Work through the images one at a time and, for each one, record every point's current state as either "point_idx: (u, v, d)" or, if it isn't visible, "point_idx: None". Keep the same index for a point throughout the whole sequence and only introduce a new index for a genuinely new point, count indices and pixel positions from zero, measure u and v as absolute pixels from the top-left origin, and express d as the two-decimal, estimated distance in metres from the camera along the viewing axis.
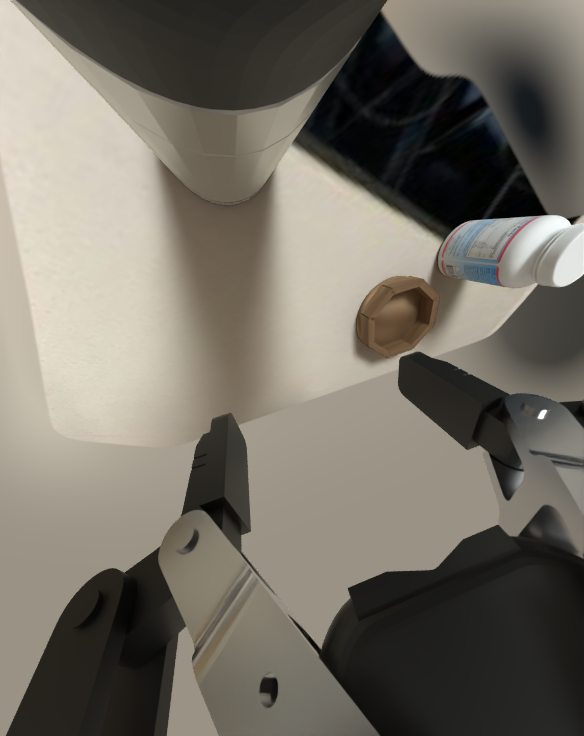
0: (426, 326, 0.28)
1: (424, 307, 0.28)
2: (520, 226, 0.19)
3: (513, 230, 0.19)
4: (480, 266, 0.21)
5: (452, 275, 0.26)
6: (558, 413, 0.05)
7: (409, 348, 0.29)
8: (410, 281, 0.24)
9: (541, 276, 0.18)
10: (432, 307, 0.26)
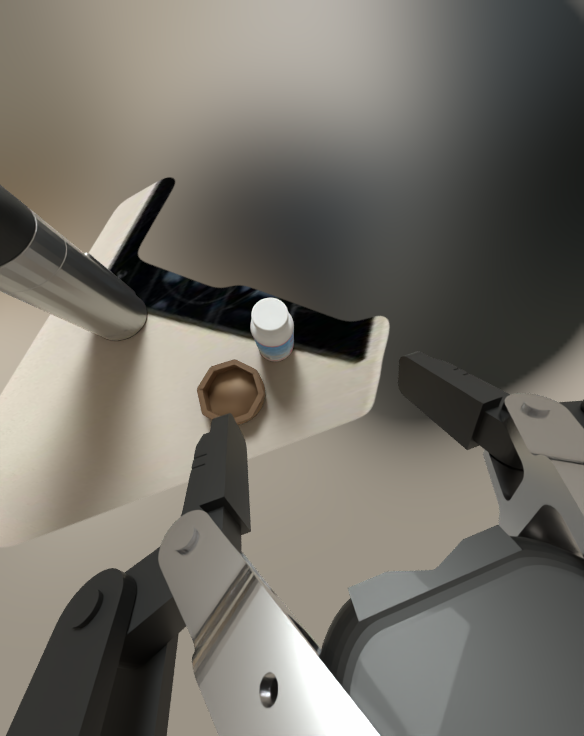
0: (257, 395, 0.32)
1: None
2: None
3: None
4: (255, 340, 0.31)
5: (267, 357, 0.34)
6: (558, 413, 0.05)
7: (247, 416, 0.31)
8: (227, 362, 0.33)
9: (257, 328, 0.26)
10: (254, 379, 0.32)
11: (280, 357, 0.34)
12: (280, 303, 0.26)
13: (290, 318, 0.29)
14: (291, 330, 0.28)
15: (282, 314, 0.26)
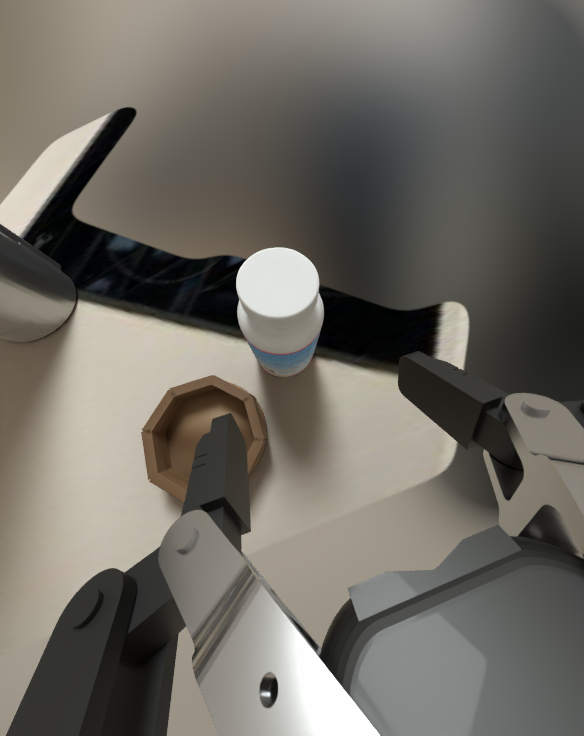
0: (253, 442, 0.17)
1: None
2: None
3: None
4: None
5: (270, 371, 0.20)
6: (558, 413, 0.05)
7: None
8: None
9: (249, 314, 0.12)
10: (247, 412, 0.18)
11: (293, 371, 0.19)
12: (301, 258, 0.12)
13: (318, 296, 0.14)
14: (320, 321, 0.14)
15: (306, 282, 0.11)
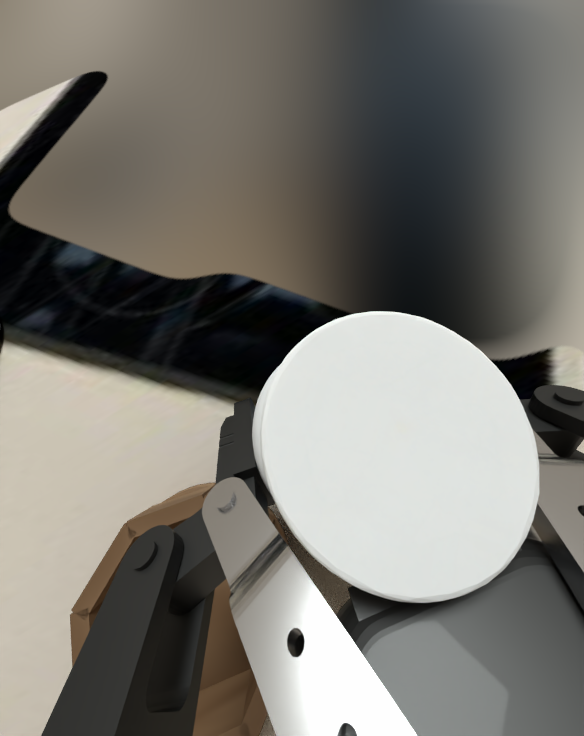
0: None
1: None
2: None
3: None
4: None
5: None
6: None
7: None
8: (180, 501, 0.11)
9: None
10: None
11: None
12: (461, 351, 0.04)
13: None
14: None
15: (497, 441, 0.03)
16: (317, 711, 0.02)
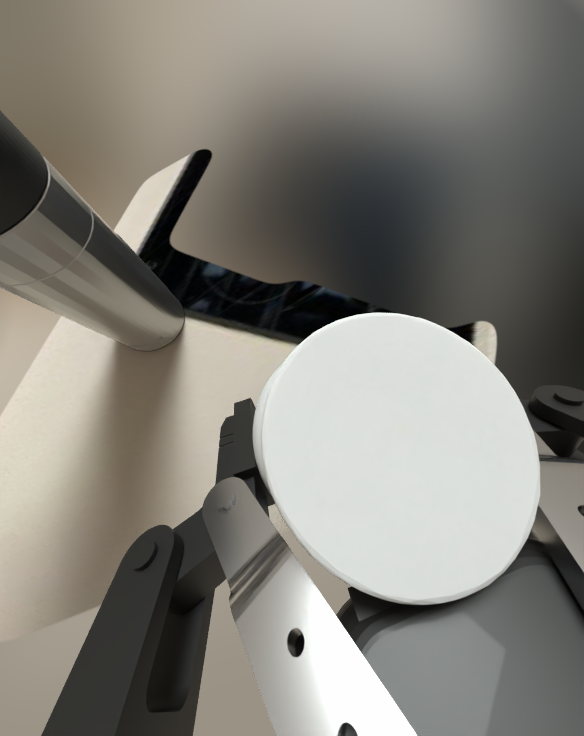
0: None
1: None
2: None
3: None
4: None
5: None
6: None
7: None
8: None
9: None
10: None
11: None
12: (462, 352, 0.04)
13: None
14: None
15: (498, 442, 0.03)
16: (317, 711, 0.02)
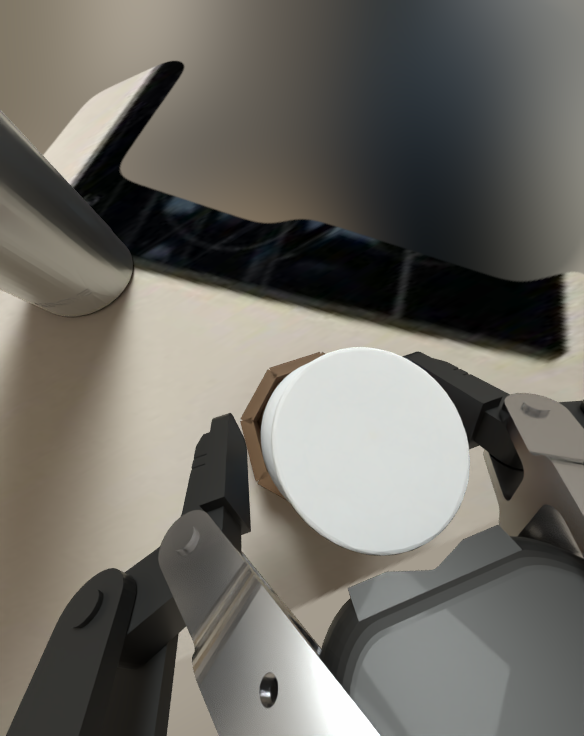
0: None
1: None
2: None
3: None
4: None
5: None
6: (558, 413, 0.05)
7: None
8: None
9: None
10: None
11: None
12: (418, 378, 0.05)
13: None
14: None
15: (441, 444, 0.05)
16: None
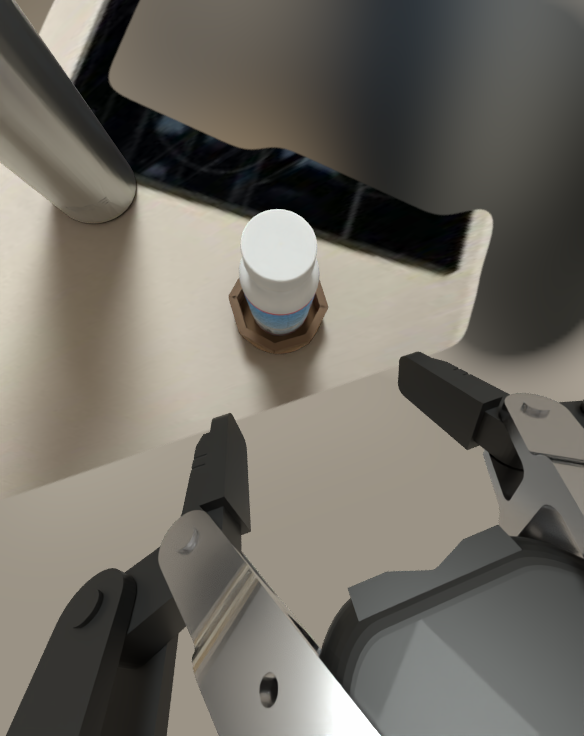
0: (318, 309, 0.22)
1: None
2: None
3: None
4: None
5: (267, 330, 0.21)
6: (558, 413, 0.05)
7: (305, 338, 0.21)
8: None
9: (252, 276, 0.13)
10: None
11: (288, 330, 0.21)
12: (301, 223, 0.12)
13: (315, 260, 0.15)
14: (316, 284, 0.15)
15: (306, 247, 0.12)
16: None
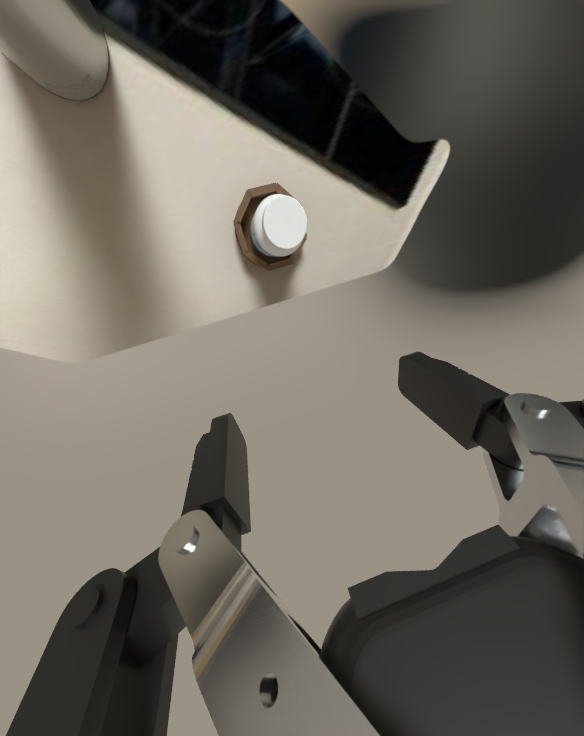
0: None
1: None
2: None
3: None
4: (255, 239, 0.26)
5: (263, 253, 0.30)
6: (558, 413, 0.05)
7: (289, 262, 0.32)
8: None
9: (268, 240, 0.22)
10: None
11: None
12: (299, 208, 0.21)
13: None
14: (302, 239, 0.25)
15: (300, 227, 0.22)
16: None
